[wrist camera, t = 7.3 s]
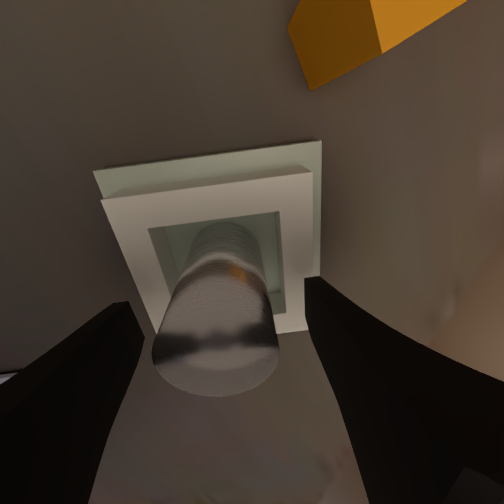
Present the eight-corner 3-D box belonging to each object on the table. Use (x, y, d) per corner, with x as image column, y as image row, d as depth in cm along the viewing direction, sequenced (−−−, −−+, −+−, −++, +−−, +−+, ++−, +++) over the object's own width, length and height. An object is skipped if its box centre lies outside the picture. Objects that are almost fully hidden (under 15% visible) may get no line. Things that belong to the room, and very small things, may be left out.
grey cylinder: (201, 287, 15) (174, 404, 9) (181, 228, 13) (131, 321, 7) (264, 277, 15) (285, 387, 8) (254, 216, 13) (271, 299, 7)
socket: (164, 326, 17) (151, 361, 15) (103, 168, 12) (65, 178, 10) (314, 306, 17) (329, 338, 15) (315, 139, 12) (337, 142, 9)
